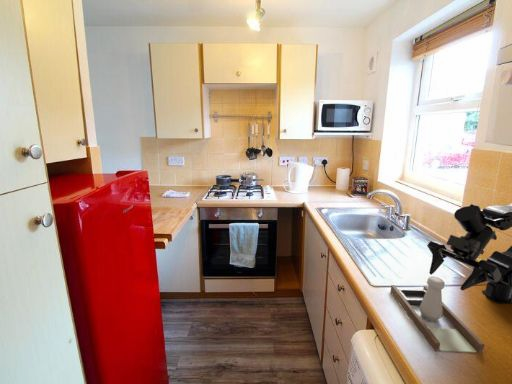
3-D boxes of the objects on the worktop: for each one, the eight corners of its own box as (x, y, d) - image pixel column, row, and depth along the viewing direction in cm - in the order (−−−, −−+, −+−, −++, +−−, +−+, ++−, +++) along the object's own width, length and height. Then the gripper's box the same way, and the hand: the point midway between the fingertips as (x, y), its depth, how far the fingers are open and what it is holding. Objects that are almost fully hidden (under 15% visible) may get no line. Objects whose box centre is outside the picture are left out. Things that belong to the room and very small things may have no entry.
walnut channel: (425, 292, 96) (426, 285, 96) (482, 352, 71) (484, 344, 71) (390, 291, 97) (391, 285, 96) (434, 351, 72) (436, 342, 71)
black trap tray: (423, 294, 95) (424, 289, 95) (433, 306, 89) (434, 300, 89) (396, 294, 95) (397, 288, 95) (405, 305, 90) (406, 299, 89)
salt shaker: (432, 311, 87) (439, 273, 84) (445, 323, 81) (453, 284, 78) (414, 311, 87) (420, 273, 84) (425, 324, 81) (433, 284, 78)
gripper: (435, 216, 89) (406, 254, 88) (505, 238, 73) (471, 285, 71) (446, 235, 95) (419, 271, 93) (514, 260, 78) (482, 304, 76)
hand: (445, 281), depth 83 cm, fingers open, 9 cm apart
